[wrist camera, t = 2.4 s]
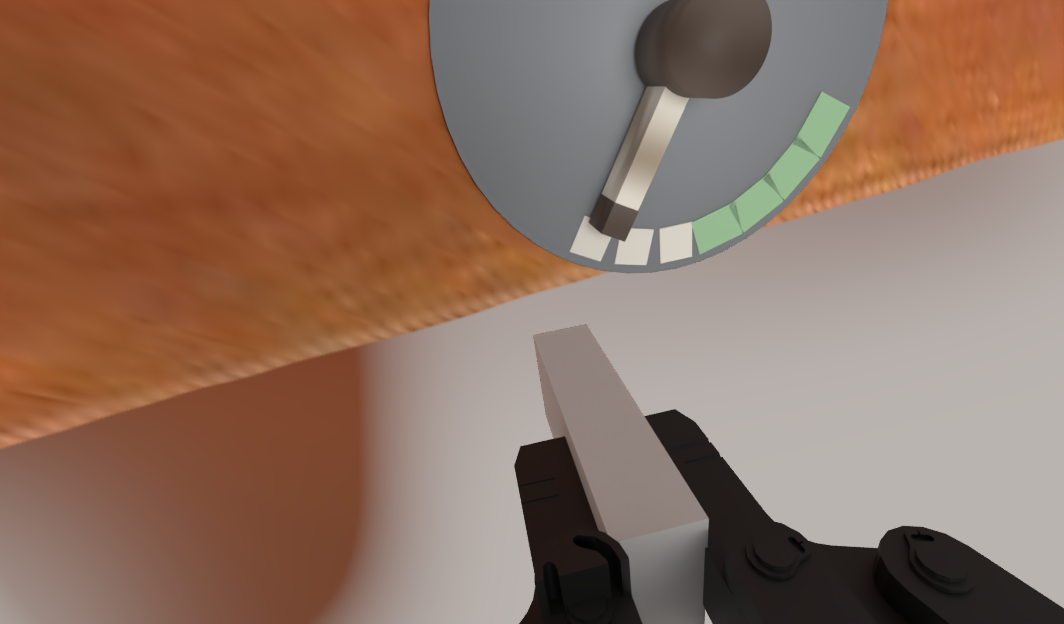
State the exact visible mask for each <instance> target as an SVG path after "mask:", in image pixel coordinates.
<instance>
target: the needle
mask: <svg viewBox="0 0 1064 624" xmlns="http://www.w3.org/2000/svg"><path fill="white" fill-rule="evenodd" d="M771 36H772V19H771V13H770V9H769V6H768V4H767V2H766V0H668V1H666V2H664V3H662V4H660V5H659V6H658V7H657V8H655V9H654V10H653V11H652V12H651V13H650V14H649V16H648V17H647V18H646V20H645V22H644V23H643V25H642V27H641V29H640V32H639V35H638V38H637V42H636V50H635V58H636V66H637V70H638V73H639V75H640V77H641V79H642V81H643V82H644V84H645V85H646V86H647V87H646V90H645V92H644V94H643V97H642V99H641V102H640V104H639V106H638V109H637V111H636V114H635V116H634V118H633V121H632V123H631V125H630V128H629V130H628V133H627V135H626V137H625V140H624V142H623V145H622V147H621V149H620V152H619V154H618V156H617V159H616V161H615V164H614V166H613V168H612V171H611V173H610V176H609V178H608V180H607V183H606V185H605V187H604V190H603V192H602V194H600V197H599V199H598V202H597V204H596V206H595V209H594V211H593V213H592V216H591V218H590V221H589V223H590V224H591V225H592V226H593V227H594V228H595V229H596V230H598V231H599V232H600V233H601V234H603V235H606V236H609V237H612V238H615V239H618V240H621V241H624V242H625V241H626V239H627V237H628V234H629V232H630V230H631V228H632V226H633V223H634V221H635V219H636V217H637V215H638V212H639V211H638V210H639V207H640V205H641V203H642V201H643V199H644V196H645V194H646V192H647V190H648V188H649V185H650V183H651V181H652V179H653V177H654V175H655V172H656V170H657V168H658V166H659V164H660V161H661V159H662V157H663V155H664V153H665V150H666V148H667V146H668V144H669V142H670V139H671V137H672V135H673V133H674V131H675V128H676V126H677V124H678V122H679V120H680V117H681V115H682V113H683V111H684V109H685V106H686V104H687V102H688V100H689V98H707V99H719V98H725V97H729V96H731V95H733V94H735V93H737V92H739V91H740V90H742V89H743V88H744V87H746V86H747V85H748V84H749V83H750V82H751V81H752V80H753V78H754V77H755V76H756V75H757V73H758V72H759V70H760V69H761V67H762V65H763V63H764V61H765V59H766V57H767V54H768V51H769V47H770V43H771Z"/></svg>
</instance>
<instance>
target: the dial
mask: <svg viewBox="0 0 1064 624" xmlns="http://www.w3.org/2000/svg"><path fill="white" fill-rule="evenodd" d="M666 1H668V0H430V5H429V27H430V46H431V58H432V64H433V70H434V76H435V82H436V88H437V93H438V97H439V100H440V103H441V107H442V110H443V114H444V117H445V120H446V124H447V127H448V130H449V132H450V134H451V136H452V139H453V141H454V143H455V146H456V148H457V150H458V153H459V155H460V157H461V159H462V161H463V163H464V164H465V166H466V168H467V170H468V171H469V173H470V175H471V176H472V178H473V180H474V181H475V183H476V185H477V186H478V188H479V189H480V190H481V191H482V193H483V194H484V195H485V197H486V198H487V199H488V200H489V202H490V203H491V204H492V206H493V207H494V208H495V209H496V210H497V211H498V212H499V213H500V214H501V215H502V216H503V217H504V218H505V219H506V220H507V221H508V222H509V223H510V224H511V225H512V226H513V227H514V228H515V229H516V230H518V231H519V232H520V233H522V234H523V235H524V236H526V237H527V238H528V239H530V240H531V241H532V242H534V243H535V244H536V245H538V246H540V247H542V248H544V249H545V250H547V251H549V252H551V253H552V254H554V255H556V256H558V257H560V258H563V259H566V260H568V261H571V262H573V263H576V264H578V265H581V266H585V267H590V268H594V269H598V270H602V271H609V272H620V273H648V272H649V273H651V272H658V271H664V270H670V269H676V268H679V267H682V266H686V265H689V264H693V263H696V262H700V261H702V260H704V259H707V258H709V257H711V256H714V255H716V254H719V253H721V252H723V251H725V250H727V249H728V248H730V247H732V246H734V245H735V244H737V243H739V242H741V241H743V240H744V239H746V238H747V237H749V236H750V235H752V234H753V233H754V232H756V231H757V230H759V229H760V228H761V227H763V226H764V225H766V224H767V223H768V222H769V221H770V220H772V219H773V218H774V217H775V216H776V215H777V214H778V213H780V212H781V211H782V210H783V209H784V208H785V207H786V206H788V204H789V203H790V202H791V201H792V200H793V199H794V198H795V197H796V196H797V195H798V194H799V193H800V192H801V191H802V190H803V189H804V188H805V186H806V185H807V184H808V183H809V182H810V180H811V179H812V178H813V177H814V175H815V174H816V173H817V171H818V170H819V169H820V168H821V166H822V165H823V164H824V162H825V161H826V159H827V158H828V156H829V155H830V153H831V152H832V150H833V149H834V147H835V146H836V144H837V142H838V141H839V139H840V138H841V136H842V134H843V132H844V131H845V129H846V127H847V125H848V123H849V121H850V119H851V117H852V115H853V113H854V112H855V110H856V108H857V105H858V103H859V100H860V98H861V96H862V93H863V91H864V89H865V86H866V84H867V81H868V79H869V76H870V73H871V70H872V67H873V64H874V60H875V57H876V54H877V51H878V48H879V44H880V40H881V35H882V30H883V26H884V21H885V17H886V12H887V5H888V0H766V2H767V4H768V6H769V9H770V13H771V19H772V36H771V43H770V47H769V51H768V54H767V57H766V59H765V61H764V63H763V65H762V67H761V69H760V70H759V72H758V73H757V75H756V76H755V77H754V78H753V80H752V81H751V82H750V83H749V84H748V85H747V86H746V87H744V88H743V89H742V90H740V91H739V92H737V93H735V94H733V95H731V96H729V97H725V98H719V99H707V98H689V100H688V102H687V104H686V106H685V109H684V111H683V113H682V115H681V117H680V120H679V122H678V124H677V126H676V128H675V131H674V133H673V135H672V137H671V139H670V142H669V144H668V146H667V148H666V150H665V153H664V155H663V157H662V159H661V161H660V164H659V166H658V168H657V170H656V172H655V175H654V177H653V179H652V181H651V183H650V185H649V188H648V190H647V192H646V194H645V196H644V199H643V201H642V203H641V205H640V207H639V210H638V211H639V212H638V215H637V217H636V219H635V221H634V223H633V226H632V228H631V230H630V232H629V234H628V237H627V239H626V241H625V242H624V241H621V240H618V239H615V238H612V237H609V236H606V235H603V234H601V233H600V232H599V231H598V230H596V229H595V228H594V227H593V226H592V225H591V224H590V223H589V221H590V218H591V216H592V213H593V211H594V209H595V206H596V204H597V202H598V199H599V197H600V194H602V192H603V190H604V187H605V185H606V183H607V180H608V178H609V176H610V173H611V171H612V168H613V166H614V164H615V161H616V159H617V156H618V154H619V152H620V149H621V147H622V145H623V142H624V140H625V137H626V135H627V133H628V130H629V128H630V125H631V123H632V121H633V118H634V116H635V114H636V111H637V109H638V106H639V104H640V102H641V99H642V97H643V94H644V92H645V90H646V87H647V86H646V85H645V84H644V82H643V81H642V79H641V77H640V75H639V73H638V70H637V66H636V58H635V50H636V42H637V38H638V35H639V32H640V29H641V27H642V25H643V23H644V22H645V20H646V18H647V17H648V16H649V14H650V13H651V12H652V11H653V10H654V9H655V8H657V7H658V6H659V5H660V4H662V3H664V2H666Z"/></svg>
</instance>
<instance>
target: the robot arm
mask: <svg viewBox="0 0 1064 624" xmlns="http://www.w3.org/2000/svg"><path fill="white" fill-rule="evenodd" d="M533 337H534V343H535V349H536V356H537V362H538V369H539V375H540V381H541V387H542V393H543V399H544V406H545V412H546V416H547V420H548V422H549V426H550V429H551V432H552V435H553V438H554V439H551V440H547V441H542V442H538V443H533V444H529V445H525V446H521V447H520V450H519V453H518V456H517V460H516V462H515V472H516V477H517V482H518V487H519V493H520V498H521V503H522V509H523V514H524V520H525V524H526V530H527V535H528V541H529V546H530V551H531V557H532V562H533V567H534V573H535V592H534V598H533V601H532V603H531V605H530V608H529V610H528V612H527V614H526V615H525V617H524V618H523V619H522V621H521V622H520V623H519V624H704V622H705V621H704V620H705V610H706V612H707V614H708V616H709V617H710V619H711V621H712V623H713V624H1064V608H1062V607H1061V606H1059V605H1058V604H1056V603H1055V602H1053V601H1052V600H1050V599H1049V598H1047V597H1046V596H1044V595H1043V594H1041V593H1039V592H1038V591H1036V590H1035V589H1033V588H1032V587H1030V586H1029V585H1027V584H1026V583H1024V582H1023V581H1021V580H1020V579H1018V578H1016V577H1015V576H1013V575H1012V574H1010V573H1009V572H1007V571H1006V570H1004V569H1003V568H1001V567H999V566H998V565H997V564H995V563H994V562H992V561H991V560H989V559H988V558H986V557H984V556H983V555H981V554H980V553H978V552H977V551H975V550H974V549H972V548H971V547H969V546H967V545H965V544H964V543H962V542H960V541H958V540H956V539H954V538H952V537H950V536H948V535H947V534H944V533H941V532H938V531H934V530H931V529H927V528H924V527H913V526H901V527H898V528H895V529H892V530H889V531H887V533H886V534H885V535H884V536H883V538H882V539H881V541H880V543H879V546H878V548H864V547H847V546H831V545H824V544H818V543H814V542H811V541H808V540H807V539H806V538H805V537H803V536H802V535H801V534H800V533H799V532H797V531H795V530H793V529H791V528H789V527H787V526H786V525H784V524H782V523H778V522H774V521H773V520H772V519H771V518H770V517H769V516H768V515H767V514H766V512H765V511H764V510H763V509H762V507H761V506H760V505H759V504H758V502H757V501H756V500H755V499H754V497H753V496H752V495H751V493H750V492H749V491H748V490H747V488H746V487H745V486H744V484H743V483H742V482H741V480H740V479H739V478H738V477H737V475H736V474H735V473H734V471H733V470H732V469H731V468H730V466H729V465H728V464H727V462H726V461H725V460H724V459H723V457H720V454H719V452H718V451H717V450H716V448H715V447H714V446H713V444H712V443H711V442H710V443H709V441H708V438H707V437H706V436H705V434H704V433H703V432H702V430H701V429H700V428H699V426H698V425H697V424H696V423H695V422H694V421H693V420H691V419H690V418H688V417H686V416H685V415H683V414H681V413H680V412H678V411H677V410H675V409H674V410H670V411H666V412H661V413H657V414H652V415H648V416H644V415H643V414H642V412H641V411H640V409H639V407H638V406H637V404H636V402H635V401H634V399H633V398H632V396H631V395H630V393H629V391H628V390H627V388H626V387H625V385H624V383H623V382H622V380H621V379H620V377H619V376H618V374H617V372H616V371H615V369H614V368H613V366H612V365H611V363H610V361H609V360H608V358H607V357H606V355H605V353H604V352H603V350H602V349H601V347H600V346H599V344H598V342H597V341H596V339H595V338H594V336H593V334H592V333H591V331H590V330H589V328H588V326H587V325H586V324H585V325H580V326H575V327H570V328H565V329H560V330H556V331H551V332H546V333H541V334H536V335H533Z"/></svg>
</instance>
